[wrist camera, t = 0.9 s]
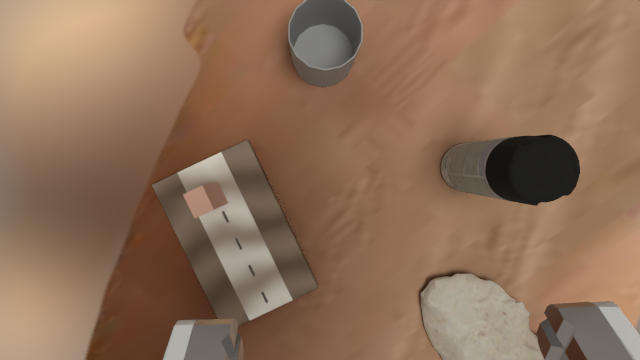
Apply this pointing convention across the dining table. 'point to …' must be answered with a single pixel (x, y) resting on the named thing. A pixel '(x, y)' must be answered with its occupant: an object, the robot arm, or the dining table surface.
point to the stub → (205, 199)
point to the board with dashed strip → (237, 236)
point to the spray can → (513, 168)
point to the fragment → (476, 321)
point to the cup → (324, 40)
